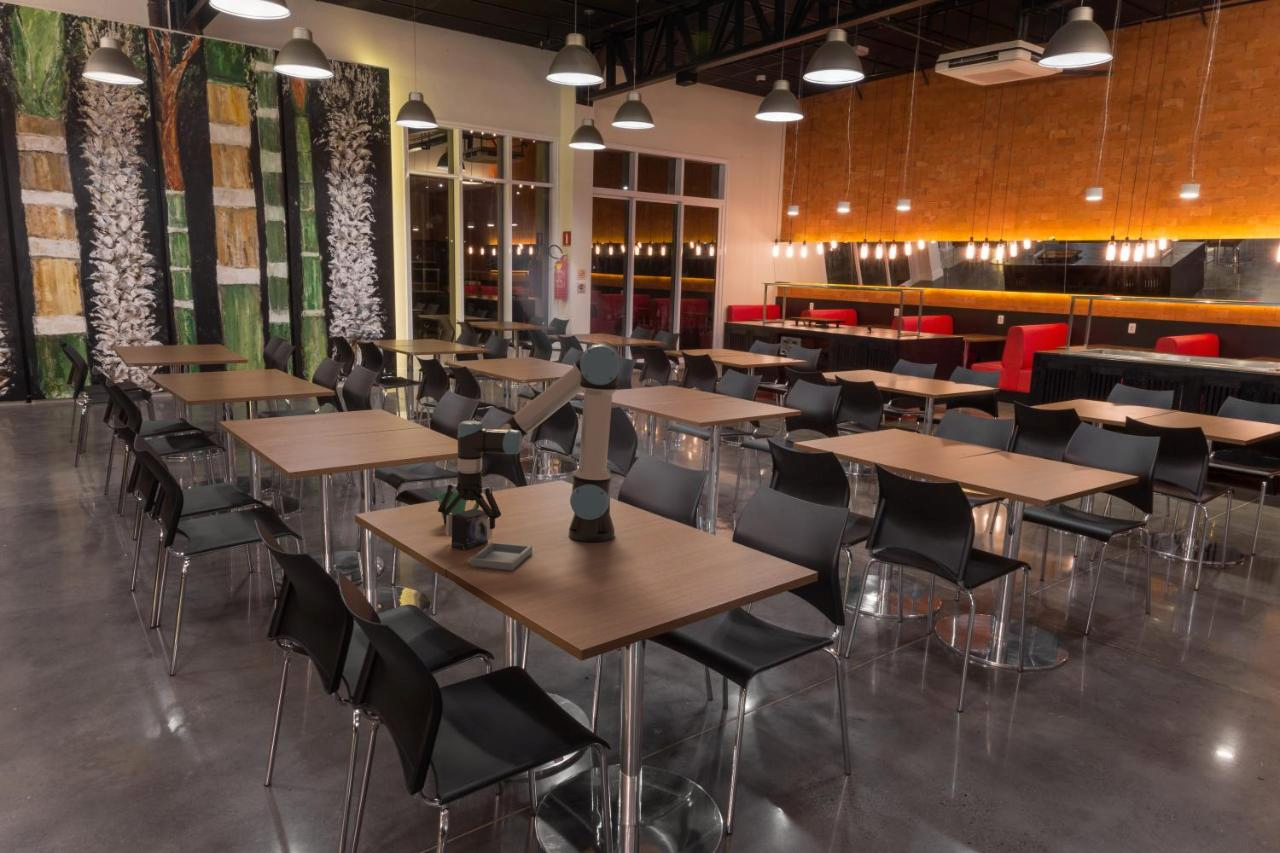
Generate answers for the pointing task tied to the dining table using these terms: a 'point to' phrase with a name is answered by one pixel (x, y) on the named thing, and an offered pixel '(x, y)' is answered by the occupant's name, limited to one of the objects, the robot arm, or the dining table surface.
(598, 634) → the dining table surface
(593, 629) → the dining table surface
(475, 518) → the small box
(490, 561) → the tray
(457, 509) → the mug
